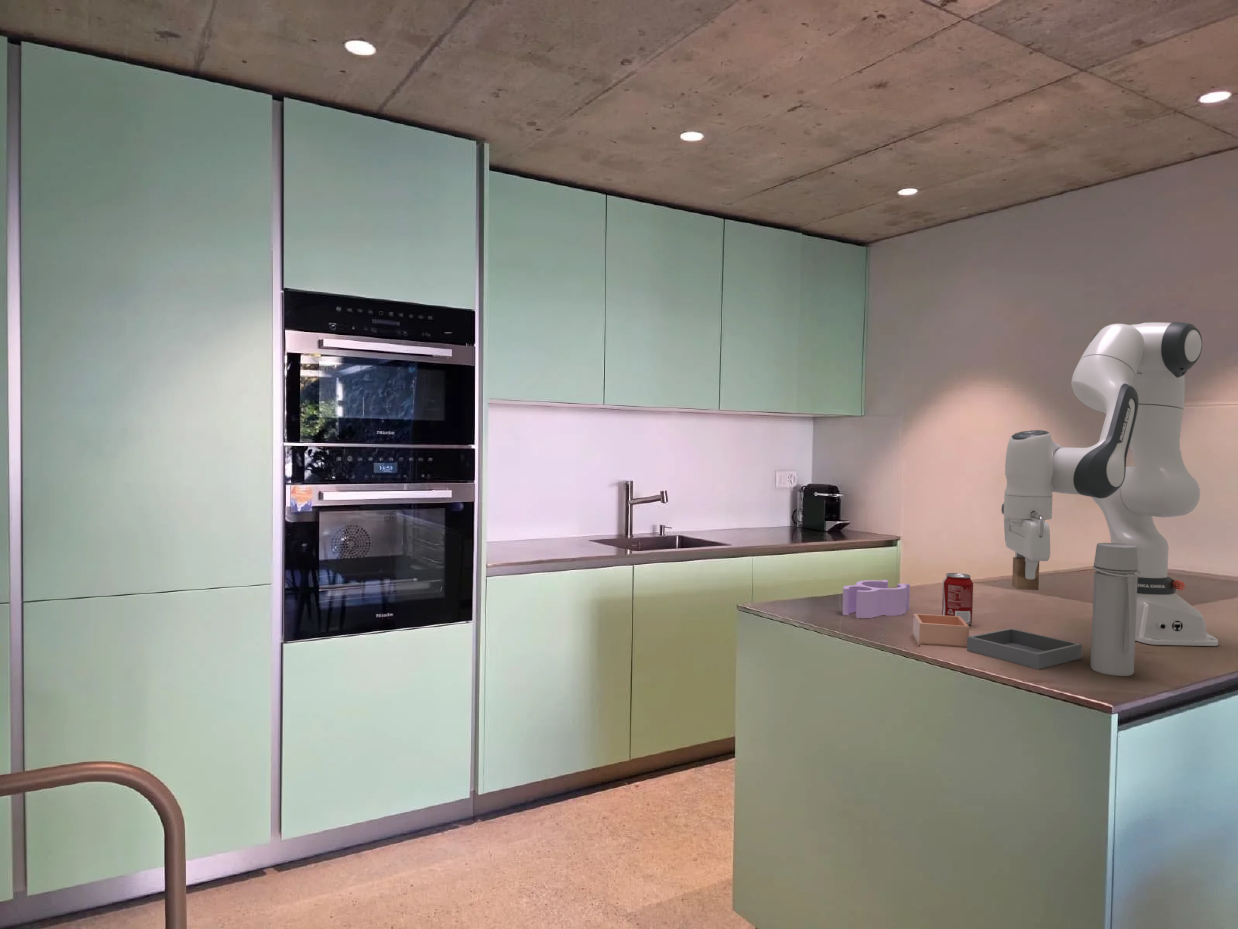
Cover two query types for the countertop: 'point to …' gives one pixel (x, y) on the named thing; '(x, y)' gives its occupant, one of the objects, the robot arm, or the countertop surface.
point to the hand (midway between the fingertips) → (1025, 576)
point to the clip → (875, 599)
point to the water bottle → (1114, 609)
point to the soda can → (958, 596)
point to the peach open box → (940, 630)
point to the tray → (1024, 648)
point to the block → (1019, 578)
